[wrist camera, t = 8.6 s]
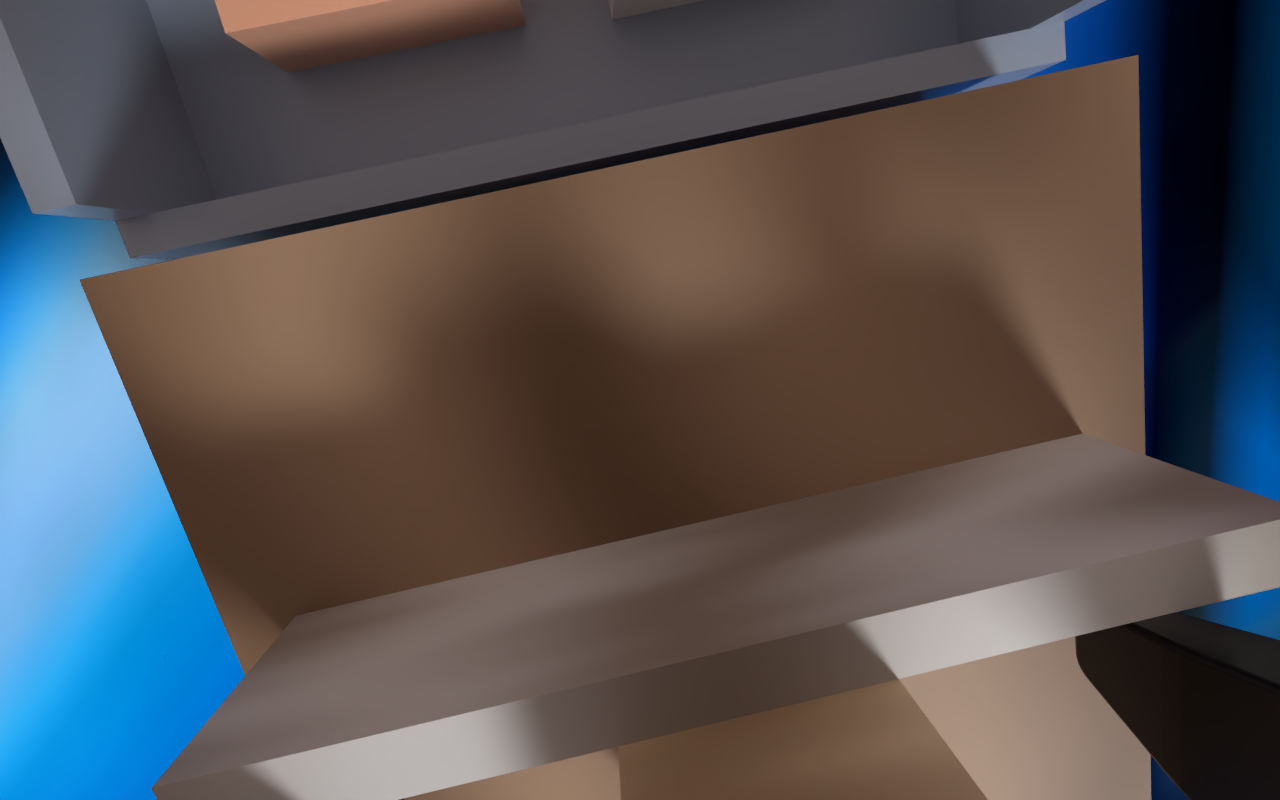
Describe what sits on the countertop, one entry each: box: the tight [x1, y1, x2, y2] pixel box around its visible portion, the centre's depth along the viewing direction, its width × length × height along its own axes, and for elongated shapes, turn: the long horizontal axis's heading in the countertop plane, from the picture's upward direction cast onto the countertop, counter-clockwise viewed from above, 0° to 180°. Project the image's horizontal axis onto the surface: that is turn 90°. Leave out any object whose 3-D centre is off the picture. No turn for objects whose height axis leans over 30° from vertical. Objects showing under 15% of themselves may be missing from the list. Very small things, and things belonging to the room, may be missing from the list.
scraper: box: [152, 434, 1280, 800], centre depth 7 cm, size 12×5×5 cm, turn 102°
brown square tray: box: [80, 55, 1151, 800], centre depth 12 cm, size 14×14×5 cm
